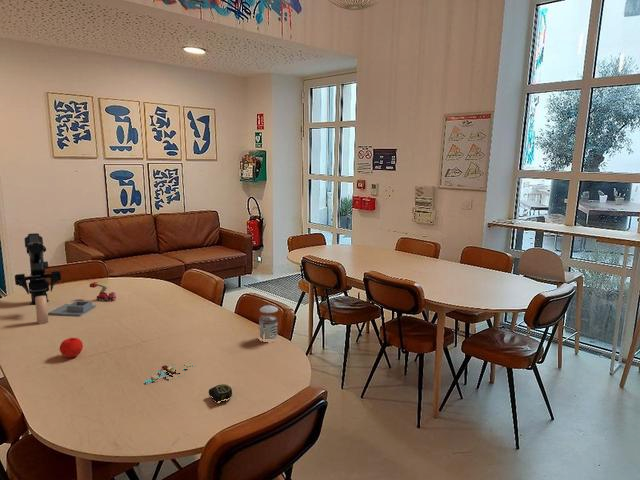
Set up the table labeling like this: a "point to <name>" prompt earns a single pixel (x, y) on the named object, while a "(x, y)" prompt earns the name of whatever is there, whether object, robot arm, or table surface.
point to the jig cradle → (73, 309)
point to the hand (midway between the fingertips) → (39, 292)
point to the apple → (71, 347)
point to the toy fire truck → (103, 293)
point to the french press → (268, 319)
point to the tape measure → (220, 392)
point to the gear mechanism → (168, 369)
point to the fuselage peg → (41, 309)
